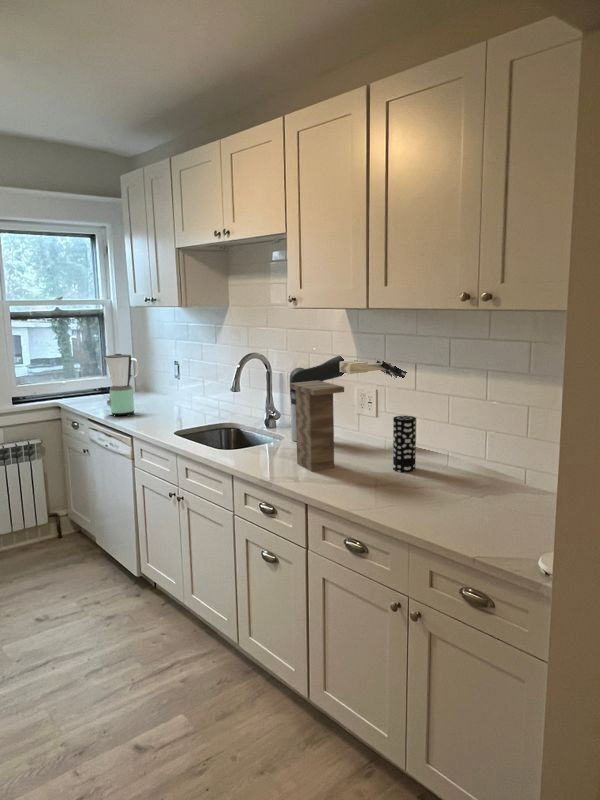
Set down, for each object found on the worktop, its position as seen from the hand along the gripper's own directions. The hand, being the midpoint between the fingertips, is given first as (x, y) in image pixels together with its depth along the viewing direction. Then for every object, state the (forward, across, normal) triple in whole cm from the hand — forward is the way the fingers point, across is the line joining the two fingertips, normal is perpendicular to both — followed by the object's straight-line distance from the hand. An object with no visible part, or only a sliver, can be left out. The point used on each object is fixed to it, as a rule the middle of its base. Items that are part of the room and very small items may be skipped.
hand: (378, 363), depth 241 cm
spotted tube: (-16, +22, +35) cm, 45 cm away
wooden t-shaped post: (+6, 0, +48) cm, 48 cm away
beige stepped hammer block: (+4, 0, +5) cm, 6 cm away
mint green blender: (+46, -149, +71) cm, 171 cm away
